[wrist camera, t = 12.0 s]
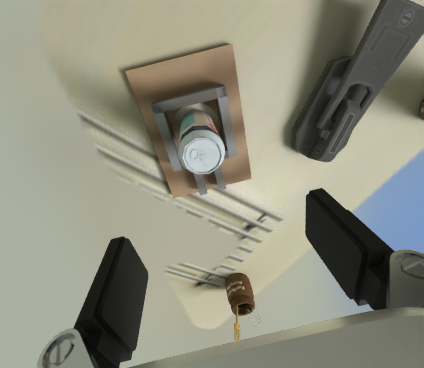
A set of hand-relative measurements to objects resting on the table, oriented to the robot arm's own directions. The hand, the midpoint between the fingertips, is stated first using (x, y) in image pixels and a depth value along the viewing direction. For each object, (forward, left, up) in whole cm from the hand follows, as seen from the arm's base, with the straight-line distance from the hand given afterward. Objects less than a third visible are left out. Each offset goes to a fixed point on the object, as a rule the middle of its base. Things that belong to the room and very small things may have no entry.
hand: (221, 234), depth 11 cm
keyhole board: (+1, 0, -24) cm, 24 cm away
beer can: (0, 0, -23) cm, 23 cm away
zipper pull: (-1, +23, -25) cm, 33 cm away
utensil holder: (+39, 0, -25) cm, 46 cm away
